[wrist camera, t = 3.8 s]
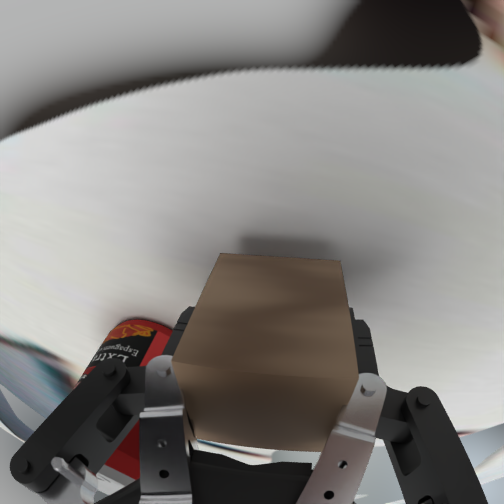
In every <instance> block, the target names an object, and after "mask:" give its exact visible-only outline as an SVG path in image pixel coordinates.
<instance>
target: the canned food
mask: <svg viewBox="0 0 504 504" xmlns="http://www.w3.org/2000/svg"><path fill="white" fill-rule="evenodd" d="M172 332H173V331H172V330H170V329H169V328H167V327H165V326H162V325H160V324H157V323H154V322H150V321H146V320H128V321H125V322H123V323H121V324H120V325H118V326H117V327H115V328H114V329H113V330H112V331H110V333H109V334H108V336H107V337H106V339H105V340H104V342H103V343H102V345H101V346H100V348H99V349H98V351H97V352H96V354H95V356H94V357H93V359H92V360H91V362H90V363H89V365H88V367H87V368H86V370H85V371H84V373H83V374H82V376H81V378H80V379H79V381H78V383H77V384H76V386H77V385H78V384H79V383H80V382H81V381H82V380H83V379H84V378H85V377H86V376H87V375H88V374H89V373H90V372H91V371H92V370H93V369H94V368H95V366H96V365H97V364H98V363H100V362H101V361H103V360H105V359H108V358H117V359H120V360H122V361H123V362H124V363H125V365H126V367H137V366H146V365H147V364H148V363H149V361H150V360H152V359H153V358H155V357H157V356H160V355H161V354H162V352H163V350H164V348H165V346H166V344H167V342H168V340H169V338H170V336H171V334H172ZM76 386H75V387H74V389H75V388H76ZM74 389H73V390H74ZM96 476H97V479H98V487H97V488H98V489H97V490H99V491H101V492H103V493H105V494H107V495H111V494H113V493H114V492H116V491H118V490H120V489H122V488H123V487H125V486H127V485H128V484H130V483H132V482H134V481H135V480H137V479H139V478H140V460H139V420H138V421H137V423H136V424H135V425H134V427H133V428H132V429H131V430H130V432H129V433H128V434H127V436H126V437H125V438H124V439H123V441H122V442H121V443H120V445H119V446H118V447H117V448H116V450H115V451H114V452H113V454H112V455H111V456H110V457H109V459H108V460H107V461H106V463H105V464H104V465H103V466H102V468H101V469H100V470H99V472H98V473H97V474H96Z"/></svg>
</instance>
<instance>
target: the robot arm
mask: <svg viewBox="0 0 504 504" xmlns="http://www.w3.org/2000/svg"><path fill="white" fill-rule="evenodd" d="M194 309H195V307H188V308H187V309H186V310H185V311H184V312H182V313H181V315H180V317H179V319H178V321H177V324H176V325H175V327H174V330H173V332H172V334H171V336H170V338H169V340H168V342H167V344H166V346H165V348H164V350H163V352H162V354H161V355H160V356H157V357H155V358H153V359H152V360H150V361H149V363H148V364H147V365H146V366H137V367H126V365H125V363H124V362H123V361H122V360H120V359H117V358H108V359H105V360H103V361H101V362H100V363H98V364H97V365H96V366H95V368H94V369H93V370H92V371H91V372H90V373H89V374H88V375H87V376H86V377H85V378H84V379H83V380H82V381H81V382H80V383H79V384H78V385H77V386H76V388H75V389H74V390H73V391H72V392H71V393H70V394H69V395H68V396H67V397H66V398H65V399H64V400H63V401H62V402H61V404H60V405H59V406H58V407H57V408H56V409H55V410H54V411H53V412H52V413H51V414H50V415H49V417H48V418H47V419H46V420H45V421H44V422H43V423H42V424H41V425H40V426H39V428H38V429H37V430H36V431H35V432H34V433H33V434H32V435H31V436H30V437H29V439H28V440H27V441H26V442H25V443H24V444H23V445H22V446H21V448H20V449H19V450H18V451H17V452H16V453H15V454H14V456H13V457H12V459H11V462H10V471H11V474H12V476H13V477H14V479H15V480H17V481H18V482H19V483H21V484H22V485H24V486H25V487H27V488H28V489H29V490H30V491H32V492H34V493H35V494H37V495H39V496H40V497H42V498H43V499H44V500H45V501H46V502H47V503H48V504H356V503H355V502H354V501H353V500H354V498H355V496H356V493H357V491H358V488H359V486H360V483H361V480H362V478H363V475H364V473H365V470H366V467H367V465H368V462H369V459H370V456H371V453H372V450H373V447H374V444H375V440H376V438H379V439H383V441H384V443H385V446H386V449H387V451H388V454H389V457H390V459H391V462H392V465H393V468H394V471H395V473H396V476H397V479H398V482H399V485H400V487H401V490H402V494H403V496H404V500H405V502H406V504H488V502H487V500H486V497H485V494H484V492H483V490H482V487H481V485H480V482H479V480H478V478H477V475H476V473H475V471H474V468H473V466H472V464H471V462H470V460H469V458H468V455H467V453H466V451H465V449H464V447H463V445H462V443H461V441H460V438H459V436H458V434H457V432H456V430H455V428H454V426H453V424H452V422H451V420H450V419H449V417H448V415H447V413H446V411H445V409H444V407H443V405H442V403H441V401H440V400H439V398H438V396H437V394H436V393H435V392H434V391H433V390H431V389H430V388H427V387H422V386H420V387H415V388H413V389H411V390H410V391H409V393H406V392H402V391H398V390H395V389H392V388H390V387H388V386H386V384H385V382H384V380H383V379H382V378H381V377H379V374H378V369H377V363H376V358H375V353H374V347H373V342H372V339H371V338H372V337H371V333H370V328H369V327H368V325H367V324H366V323H365V322H364V320H355V318H354V312H353V308H351V307H349V312H350V318H351V324H352V330H353V337H354V344H355V351H356V358H357V366H358V374H359V380H358V382H357V384H356V387H355V389H354V392H353V394H352V396H351V399H350V401H349V403H348V405H342V407H341V410H340V412H339V414H338V417H337V419H336V422H335V424H334V426H333V429H332V431H331V433H330V435H329V437H328V439H327V441H326V443H325V445H324V448H323V450H322V452H321V454H320V456H319V458H318V460H317V462H316V464H315V466H314V468H313V470H312V469H311V468H312V463H298V462H277V463H269V464H261V465H248V464H245V463H243V462H240V461H237V460H235V459H232V458H230V457H227V456H225V455H222V454H216V453H210V452H205V451H200V450H199V448H198V444H197V438H196V430H195V424H194V421H193V419H190V418H189V415H188V412H187V409H186V398H185V394H184V391H183V389H180V388H179V385H178V382H177V379H176V376H175V373H174V370H173V366H172V363H171V360H172V357H173V355H174V353H175V351H176V348H177V346H178V344H179V342H180V339H181V337H182V335H183V333H184V331H185V328H186V326H187V324H188V322H189V320H190V317H191V315H192V313H193V311H194ZM138 420H139V460H140V478H139V479H137V480H135V481H134V482H132V483H130V484H128V485H127V486H125V487H123V488H122V489H120V490H118V491H116V492H114V493H113V494H111V495H109V496H107V497H105V498H103V499H102V500H100V501H98V502H96V503H94V501H93V498H94V494H95V493H96V492H97V489H98V488H97V487H98V479H97V476H96V474H97V473H98V472H99V470H100V469H101V468H102V466H103V465H104V464H105V463H106V461H107V460H108V459H109V457H110V456H111V455H112V454H113V452H114V451H115V450H116V448H117V447H118V446H119V445H120V443H121V442H122V441H123V439H124V438H125V437H126V436H127V434H128V433H129V432H130V430H131V429H132V428H133V427H134V425H135V424H136V423H137V421H138Z"/></svg>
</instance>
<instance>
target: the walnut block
mask: <svg viewBox="0 0 504 504" xmlns="http://www.w3.org/2000/svg"><path fill="white" fill-rule="evenodd" d="M171 363H172V366H173V370H174V373H175V376H176V379H177V382H178V385H179V388H180V389H183V391H184V394H185V398H186V409H187V412H188V415H189V418H190V419H193V421H194V424H195V430H196V437H197V439H202V440H207V441H212V442H218V443H224V444H231V445H238V446H245V447H254V448H263V449H274V450H288V451H309V452H322V450H323V448H324V445H325V443H326V441H327V439H328V437H329V435H330V433H331V431H332V429H333V426H334V424H335V422H336V419H337V417H338V414H339V412H340V410H341V407H342V405H348V403H349V401H350V399H351V396H352V394H353V392H354V389H355V387H356V384H357V382H358V380H359V374H358V366H357V358H356V351H355V344H354V337H353V330H352V324H351V318H350V312H349V306H348V300H347V294H346V289H345V283H344V278H343V273H342V268H341V263H340V261H337V260H321V259H305V258H289V257H274V256H258V255H242V254H227V253H220V255H219V257H218V259H217V262H216V264H215V266H214V268H213V270H212V272H211V274H210V276H209V278H208V281H207V283H206V285H205V287H204V289H203V291H202V294H201V296H200V298H199V300H198V302H197V304H196V306H195V309H194V311H193V313H192V315H191V317H190V320H189V322H188V324H187V326H186V328H185V331H184V333H183V335H182V337H181V339H180V342H179V344H178V346H177V348H176V351H175V353H174V355H173V357H172V360H171Z"/></svg>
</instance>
